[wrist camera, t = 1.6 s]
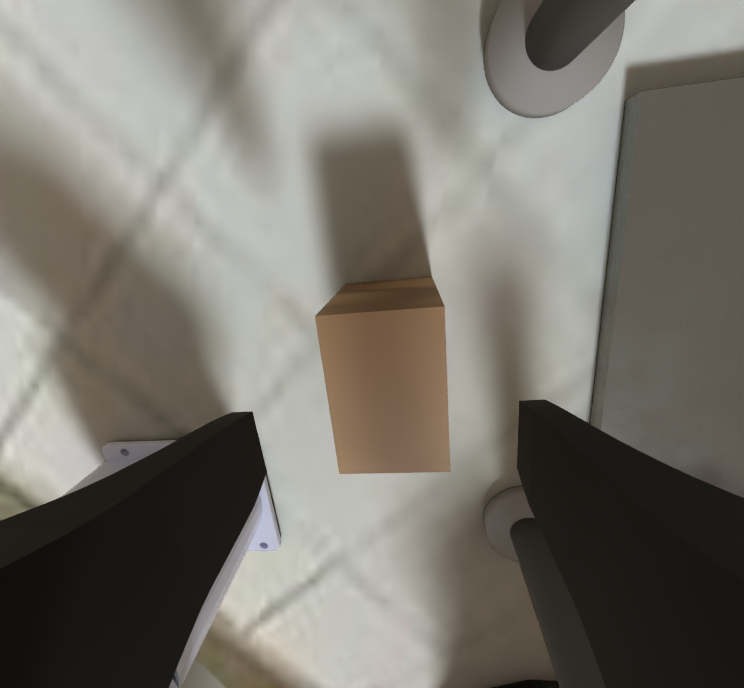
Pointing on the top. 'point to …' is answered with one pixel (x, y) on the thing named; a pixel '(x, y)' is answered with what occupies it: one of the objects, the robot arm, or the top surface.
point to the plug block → (387, 376)
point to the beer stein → (531, 684)
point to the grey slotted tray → (678, 284)
